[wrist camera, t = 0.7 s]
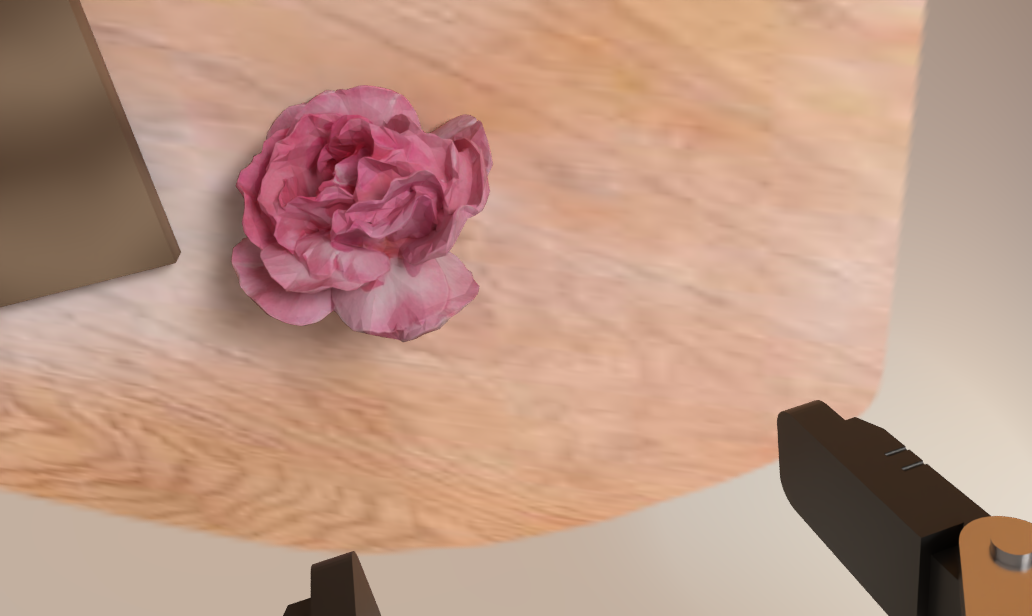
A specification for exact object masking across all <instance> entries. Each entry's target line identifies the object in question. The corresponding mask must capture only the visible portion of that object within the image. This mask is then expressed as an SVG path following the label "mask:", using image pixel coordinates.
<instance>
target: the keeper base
mask: <svg viewBox="0 0 1032 616" xmlns="http://www.w3.org/2000/svg"><path fill="white" fill-rule="evenodd" d="M180 253H181V251H180V249H179V246H178V244H177V241H176V239H175V236H174V234H173V231H172V229H171V226H170V224H169V221H168V219H167V216H166V214H165V211H164V209H163V206H162V204H161V201H160V199H159V196H158V194H157V192H156V189H155V187H154V184H153V182H152V179H151V177H150V174H149V172H148V169H147V167H146V164H145V162H144V159H143V157H142V154H141V152H140V149H139V147H138V144H137V142H136V140H135V137H134V135H133V132H132V130H131V127H130V125H129V122H128V120H127V117H126V115H125V112H124V110H123V107H122V105H121V102H120V100H119V97H118V95H117V92H116V90H115V87H114V85H113V83H112V80H111V78H110V75H109V73H108V70H107V68H106V65H105V63H104V60H103V58H102V55H101V53H100V50H99V48H98V45H97V43H96V40H95V38H94V35H93V33H92V31H91V28H90V26H89V23H88V21H87V18H86V16H85V13H84V11H83V8H82V6H81V3H80V1H79V0H0V307H3V306H7V305H11V304H15V303H19V302H23V301H27V300H31V299H35V298H39V297H43V296H46V295H50V294H54V293H58V292H62V291H66V290H70V289H74V288H78V287H82V286H86V285H90V284H94V283H98V282H102V281H106V280H110V279H114V278H118V277H122V276H126V275H130V274H134V273H138V272H142V271H146V270H150V269H154V268H157V267H161V266H165V265H169V264H173V263H176V261H177V259H178V257H179V255H180Z"/></svg>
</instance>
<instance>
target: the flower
mask: <svg viewBox="0 0 1032 616" xmlns="http://www.w3.org/2000/svg"><path fill="white" fill-rule="evenodd" d="M492 165H493V162H492V156H491V151H490V147H489V143H488V140H487V137H486V134H485V131H484V128H483V125H482V122H481V121H479V120H478V121H477V120H476V118H475V117H473V116H471V115H461V116H458V117H456V118H453V119H451V120H449V121H448V122H446V123H445V124H444V125H442V126H441V127H439V128H438V129H436V130H435V131H433V132H430V133H425V132H424V131H423V130H422V129H421V125H420V122H419V119H418V116H417V113H416V111H415V110H414V108H413V107H412V105H411V104H410V102H409V101H408V100H407V99H406V98H405V97H404V96H403V95H401V94H399V93H397V92H395V91H392V90H389V89H386V88H382V87H375V86H367V85H363V86H357V87H354V88H350V89H347V90H343V89H339V90H337V91H331V90H326V91H324V92H322V93H320V94H319V95H317V96H316V97H314V98H313V99H311V100H310V101H309V103H302V104H298V105H294V106H290V107H288V108H287V109H285V110H284V111H283V112H282V113H281V114H280V115H279V117H278V118H277V119H276V120H275V122H274V123H273V125H272V126H271V128H270V129H269V131H268V132H267V137H266V141H264V144H263V148H262V153H260V154H258V155H256V156H254V157H253V159H252V162H251V163H250V164H249V165H248V167H246V168H245V169H243V170H241V171H240V174H239V177H238V180H237V183H236V187H237V188H238V190H239V191H240V193H241V194H242V196H243V197H244V214H243V219H242V225H243V230H244V233H245V234H246V236H247V237H246V238H243V239H242V241H241V242H240V243H239V244H238V245H236V246H235V247H234V248H233V253H232V259H231V262H232V265H233V267H234V270H235V272H236V275H237V277H238V280H239V284H240V287H241V288H242V289H243V290H244V292H245V293H246V294H247V295H248V296H249V297H250V298H251V299H252V300H253V301H254V302H255V303H256V304H257V305H258V306H259V307H260V308H261V309H262V310H263V311H264V312H265V313H266V314H268V315H270V316H272V317H273V318H276V319H278V320H280V321H282V322H285V323H288V324H292V325H299V326H305V325H309V324H312V323H316V322H319V321H321V320H322V319H323V318H325V317H326V316H327V315H328V314H329V313H331V312H332V311H333V310H334V311H335V312H336V313H337V314H338V315H339V316H340V318H341V319H342V321H343V322H344V323H345V324H346V325H348V326H349V327H350V328H351V329H352V330H353V331H357V332H362V333H366V334H371V335H375V336H380V337H386V338H393V339H397V340H400V341H402V342H406V341H410V340H413V339H416V338H418V337H420V336H422V335H424V334H426V333H429V332H432V331H435V330H438V329H440V328H441V327H442V326H443V325H444V324H445V323H446V322H447V321H448V320H449V319H450V318H451V317H452V316H454V315H455V314H457V313H458V312H460V311H461V310H462V309H463V308H464V307H465V306H466V305H468V304H469V303H470V302H471V301H472V300H473V299H474V298H475V297H476V295H477V294H478V291H479V285H478V284H477V283H476V282H475V280H474V279H473V275H472V272H471V271H469V270H468V269H467V268H466V267H465V265H464V264H463V263H462V261H461V260H460V259H459V258H458V257H457V256H456V255H454V254H453V253H451V252H449V251H450V249H451V248H452V247H453V245H454V244H455V242H456V240H457V238H458V236H459V234H460V232H461V230H462V228H463V226H464V224H465V222H466V221H467V219H468V218H470V217H472V216H475V215H476V214H478V213H479V212H481V211H482V210H483V208H484V206H485V204H486V202H487V199H488V196H489V192H490V189H489V183H488V177H487V176H488V174H489V172H490V170H491V168H492Z"/></svg>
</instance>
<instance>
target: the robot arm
mask: <svg viewBox="0 0 1032 616" xmlns="http://www.w3.org/2000/svg"><path fill="white" fill-rule="evenodd" d="M777 429H778V448H779V467H780V478H781V483H782V487H783V490H784V492H785V494H786V496H787V499H788V500H789V502H790V504H791V505H792V507H793V508H794V509H795V510H796V512H797V513H798V514H799V515H800V516H801V517H802V518H803V519H804V521H805V522H806V523H807V524H808V525H809V526H810V527H811V529H812V530H813V531H814V532H815V533H816V534H817V535H818V537H819V538H820V539H821V540H822V541H823V542H824V543H825V544H826V546H827V547H828V548H829V549H830V550H831V551H832V552H833V553H834V555H835V556H836V557H837V558H838V559H839V560H840V561H841V562H842V564H843V565H844V566H845V567H846V568H847V569H848V570H849V572H850V573H851V574H852V575H853V576H854V577H855V578H856V579H857V581H858V582H859V583H860V584H861V585H862V586H863V587H864V588H865V590H866V591H867V592H868V593H869V594H870V595H871V596H872V598H873V599H874V600H875V601H876V602H877V603H878V604H879V605H880V606H881V608H882V609H883V610H884V611H885V612H886V613H887V614H888V616H1032V523H1030V522H1027V521H1025V520H1021V519H1017V518H1012V517H1005V516H990V515H989V514H988V513H987V512H985V511H984V510H983V509H982V508H981V507H979V506H978V505H977V504H976V503H974V502H973V501H972V500H971V499H969V498H968V497H967V496H966V495H965V494H963V493H962V492H961V491H960V490H958V489H957V488H956V487H954V485H952V484H951V483H950V482H948V481H947V480H946V479H945V478H944V477H942V476H941V475H940V474H939V473H938V472H936V471H935V470H934V469H933V468H931V467H930V466H929V465H928V464H924V463H923V460H921V459H920V458H919V457H918V456H917V455H915V454H914V453H913V452H912V451H910V450H906V448H905V446H904V445H903V444H902V443H901V442H899V441H898V440H897V439H896V438H894V437H893V436H892V435H891V434H890V433H888V432H887V431H886V430H885V429H883V428H881V427H878V426H876V425H873V424H871V423H868V422H866V421H864V420H861V419H859V418H856V417H854V418H851V419H848V420H844V419H843V418H842V417H841V416H840V415H838V414H837V413H836V412H835V411H834V410H833V409H831V408H830V407H829V406H828V405H827V404H825V403H824V402H822V401H820V400H816V401H812V402H809V403H806V404H803V405H800V406H797V407H794V408H791V409H788V410H785V411H782V412H780V413H779V415H778V418H777ZM283 616H381V614H380V611H379V609H378V606H377V604H376V601H375V599H374V596H373V594H372V591H371V589H370V586H369V584H368V581H367V579H366V576H365V574H364V571H363V569H362V566H361V563H360V561H359V559H358V556H357V554H356V553H355V552H354V551H352V552H349V553H346V554H343V555H340V556H337V557H334V558H331V559H328V560H325V561H322V562H319V563H316V564H313V565H312V566H311V598H308V599H305V600H303V601H299V602H297V603H293V604H290V605H288V606H287V608H286V611H285V613H284V615H283Z"/></svg>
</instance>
